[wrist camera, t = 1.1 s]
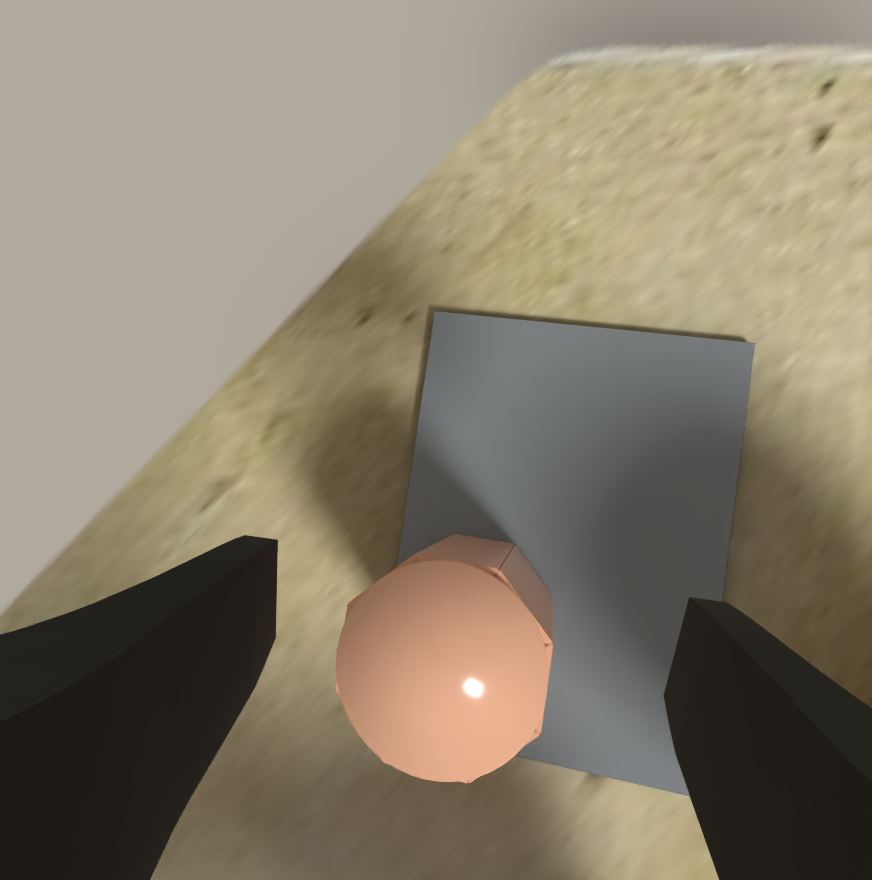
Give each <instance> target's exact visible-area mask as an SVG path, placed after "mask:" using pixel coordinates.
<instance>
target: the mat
mask: <svg viewBox="0 0 872 880" xmlns="http://www.w3.org/2000/svg"><path fill="white" fill-rule="evenodd" d="M754 346H755V343H750V342H740V341H730V340H720V339H710V338H700V337H690V336H679V335H669V334H659V333H649V332H639V331H629V330H619V329H609V328H599V327H589V326H579V325H569V324H559V323H549V322H539V321H529V320H519V319H509V318H499V317H489V316H479V315H469V314H459V313H449V312H439V311H435V313H434V320H433V327H432V333H431V340H430V347H429V353H428V360H427V367H426V373H425V380H424V387H423V393H422V400H421V407H420V414H419V420H418V427H417V434H416V440H415V447H414V454H413V460H412V467H411V474H410V480H409V487H408V494H407V500H406V507H405V514H404V520H403V527H402V534H401V541H400V547H399V554H398V561H397V567H398V566H399V565H400V564H402V563H403V562H404V561H406V560H407V559H408V558H410V557H411V556H412V555H414V554H416V553H418V552H420V551H422V550H424V549H426V548H428V547H430V546H432V545H434V544H436V543H438V542H440V541H442V540H444V539H446V538H448V537H450V536H452V535H454V534H459V535H465V536H471V537H477V538H483V539H489V540H495V541H501V542H507V543H513V544H514V545H516V546H517V547H518V548H519V550H520V551H521V552H522V554H523V555H524V557H525V558H526V559H527V561H528V562H529V563H530V565H531V566H532V567H533V569H534V570H535V572H536V573H537V574H538V576H539V577H540V578H541V580H542V581H543V582H544V584H545V585H546V586H547V588H548V589H549V591H550V592H551V593H552V595H553V650H552V657H551V665H550V672H549V679H548V687H547V696H546V701H545V708H544V715H543V723H542V730H541V733H540V735H539V736H538V737H536V738H535V739H533V740H532V741H531V742H529V743H528V744H526V745H525V746H524V747H523V748H522V749H521V750H520V751H519V752H518V753H517V754H516V755H515V756H519V757H523V758H527V759H531V760H536V761H540V762H544V763H549V764H553V765H557V766H562V767H566V768H570V769H575V770H579V771H583V772H588V773H592V774H596V775H601V776H605V777H609V778H613V779H618V780H622V781H626V782H631V783H635V784H639V785H644V786H648V787H652V788H657V789H661V790H665V791H670V792H674V793H678V794H683V795H687V796H690V795H689V792H688V789H687V786H686V783H685V781H684V778H683V775H682V772H681V769H680V766H679V763H678V760H677V757H676V754H675V750H674V746H673V741H672V737H671V732H670V727H669V722H668V717H667V712H666V706H665V701H664V696H663V695H664V691H665V688H666V684H667V680H668V676H669V672H670V668H671V665H672V661H673V657H674V653H675V649H676V645H677V642H678V638H679V634H680V630H681V626H682V622H683V619H684V615H685V611H686V607H687V603H688V599H689V597H692V598H700V599H707V600H714V601H721V602H722V599H723V591H724V583H725V575H726V567H727V560H728V552H729V544H730V536H731V528H732V520H733V512H734V504H735V496H736V489H737V481H738V473H739V465H740V457H741V449H742V441H743V433H744V425H745V417H746V410H747V402H748V394H749V386H750V378H751V370H752V362H753V354H754Z"/></svg>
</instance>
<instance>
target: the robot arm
mask: <svg viewBox="0 0 872 880" xmlns="http://www.w3.org/2000/svg"><path fill="white" fill-rule="evenodd" d="M277 553H278V540H275V539H268V538H261V537H253V536H246V535H244V536H241V537H239V538H236V539H234V540H231V541H229V542H227V543H224V544H222V545H220V546H218V547H216V548H214V549H212V550H210V551H208V552H206V553H204V554H202V555H199V556H197V557H195V558H193V559H191V560H189V561H187V562H185V563H183V564H181V565H179V566H177V567H175V568H172V569H170V570H168V571H166V572H164V573H162V574H160V575H158V576H156V577H154V578H151V579H149V580H147V581H144V582H142V583H140V584H138V585H135V586H133V587H131V588H128V589H126V590H124V591H121V592H119V593H117V594H114V595H112V596H110V597H107V598H105V599H103V600H100V601H98V602H96V603H93V604H91V605H88V606H85V607H83V608H80V609H77V610H75V611H72V612H69V613H67V614H64V615H61V616H58V617H55V618H52V619H49V620H46V621H43V622H40V623H37V624H34V625H31V626H28V627H25V628H22V629H19V630H16V631H12V632H9V633H5V634H1V635H0V880H150V879H151V876H152V874H153V872H154V870H155V868H156V866H157V864H158V861H159V859H160V857H161V855H162V853H163V851H164V848H165V846H166V844H167V842H168V840H169V838H170V836H171V833H172V831H173V829H174V827H175V825H176V824H177V822H178V820H179V818H180V816H181V814H182V812H183V811H184V809H185V807H186V805H187V803H188V801H189V799H190V798H191V796H192V794H193V793H194V791H195V789H196V788H197V786H198V784H199V782H200V781H201V779H202V777H203V776H204V774H205V772H206V771H207V769H208V767H209V765H210V764H211V762H212V760H213V759H214V757H215V755H216V754H217V752H218V750H219V748H220V747H221V745H222V743H223V742H224V740H225V738H226V737H227V735H228V733H229V731H230V730H231V728H232V726H233V725H234V723H235V721H236V719H237V718H238V716H239V714H240V713H241V711H242V709H243V707H244V706H245V704H246V702H247V700H248V699H249V697H250V695H251V693H252V692H253V690H254V688H255V686H256V684H257V681H258V679H259V677H260V674H261V672H262V670H263V668H264V665H265V663H266V660H267V658H268V655H269V653H270V650H271V648H272V645H273V643H274V640H275V638H276V598H277ZM663 696H664V701H665V706H666V712H667V717H668V722H669V727H670V732H671V737H672V741H673V746H674V750H675V754H676V757H677V760H678V763H679V766H680V769H681V772H682V775H683V778H684V781H685V783H686V786H687V789H688V792H689V795H690V798H691V801H692V804H693V807H694V809H695V812H696V815H697V818H698V821H699V824H700V826H701V829H702V832H703V835H704V838H705V841H706V843H707V846H708V849H709V852H710V855H711V858H712V860H713V863H714V866H715V869H716V872H717V875H718V877H719V880H872V708H870V707H869V706H868V705H866V704H865V703H863V702H862V701H860V700H859V699H857V698H856V697H855V696H853V695H852V694H850V693H849V692H848V691H846V690H845V689H843V688H842V687H841V686H839V685H838V684H837V683H835V682H834V681H832V680H831V679H830V678H828V677H827V676H826V675H824V674H823V673H822V672H820V671H819V670H818V669H816V668H815V667H814V666H812V665H811V664H810V663H808V662H807V661H806V660H804V659H803V658H802V657H800V656H799V655H798V654H797V653H795V652H794V651H793V650H791V649H790V648H789V647H787V646H786V645H785V644H783V643H782V642H781V641H780V640H778V639H777V638H776V637H774V636H773V635H772V634H770V633H769V632H768V631H766V630H765V629H764V628H762V627H761V626H760V625H758V624H757V623H756V622H754V621H753V620H752V619H750V618H749V617H748V616H746V615H745V614H743V613H742V612H741V611H739V610H738V609H736V608H735V607H733V606H731V605H730V604H728V603H726V602H721V601H714V600H707V599H700V598H692V597H689V599H688V603H687V607H686V611H685V615H684V619H683V622H682V626H681V630H680V634H679V638H678V642H677V645H676V649H675V653H674V657H673V661H672V665H671V668H670V672H669V676H668V680H667V684H666V688H665V691H664V695H663Z"/></svg>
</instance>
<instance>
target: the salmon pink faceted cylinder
mask: <svg viewBox="0 0 872 880" xmlns="http://www.w3.org/2000/svg"><path fill="white" fill-rule="evenodd" d="M552 650H553V595H552V593H551V592H550V591H549V589H548V588H547V586H546V585H545V584H544V582H543V581H542V580H541V578H540V577H539V576H538V574H537V573H536V572H535V570H534V569H533V567H532V566H531V565H530V563H529V562H528V561H527V559H526V558H525V557H524V555H523V554H522V552H521V551H520V550H519V548H518V547H517V546H516V545H514V544H513V543H507V542H501V541H495V540H489V539H483V538H477V537H471V536H465V535H459V534H454V535H452V536H450V537H448V538H446V539H444V540H442V541H440V542H438V543H436V544H434V545H432V546H430V547H428V548H426V549H424V550H422V551H420V552H418V553H416V554H414V555H412V556H411V557H410V558H408V559H407V560H406V561H404V562H403V563H402V564H400V565H399V566H398V567H396V568H395V569H393V570H392V571H391V572H389V573H388V574H387V575H385V576H384V577H383V578H381V579H379V580H378V581H377V582H375V583H374V584H373V585H372V586H371V587H369V588H368V589H366V590H365V591H364V592H362V593H361V594H360V595H358V596H357V597H356V598H354V599H353V600H352V601H350V602H349V604H348V605H347V612H346V618H345V623H344V626H343V629H342V632H341V635H340V639H339V644H338V648H337V658H336V674H337V677H336V684H335V687H336V691H337V693H338V694H339V696H340V697H341V700H342V704H343V706H344V709H345V711H346V714H347V716H348V718H349V720H350V722H351V724H352V725H353V727H354V729H355V730H356V732H357V733H358V735H359V736H360V737H361V739H362V740H363V741H364V742H365V743H366V745H367V746H368V747H369V748H370V749H371V750H372V751H373V752H374V753H375V754H377V755H378V756H379V757H380V759H381V760H382V762H384V761H385V762H384V763H385V764H389V765H392V766H393V767H395V768H396V769H398V770H400V771H403V772H405V773H407V774H409V775H412V776H415V777H418V778H421V779H426V780H431V781H438V782H456V781H459V782H463V783H467V784H468V782H469V783H471V782H472V781H474V780H475V779H477V778H478V777H480V776H483V775H485V774H488V773H490V772H492V771H494V770H496V769H497V768H499V767H501V766H502V765H504V764H505V763H506V762H508V761H509V760H510V759H512V758H513V757H514V756H515V755H516V754H517V753H518V752H519V751H520V750H521V749H522V748H523V747H524V746H525V745H526V744H528V743H529V742H531V741H532V740H533V739H535V738H536V737H538V736H539V735H540V733H541V730H542V723H543V715H544V708H545V701H546V696H547V687H548V679H549V672H550V665H551V657H552Z"/></svg>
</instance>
